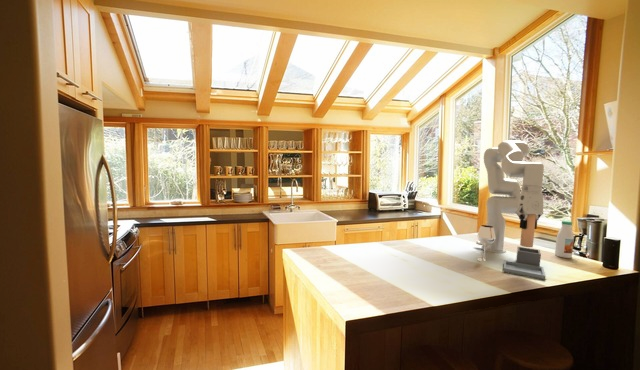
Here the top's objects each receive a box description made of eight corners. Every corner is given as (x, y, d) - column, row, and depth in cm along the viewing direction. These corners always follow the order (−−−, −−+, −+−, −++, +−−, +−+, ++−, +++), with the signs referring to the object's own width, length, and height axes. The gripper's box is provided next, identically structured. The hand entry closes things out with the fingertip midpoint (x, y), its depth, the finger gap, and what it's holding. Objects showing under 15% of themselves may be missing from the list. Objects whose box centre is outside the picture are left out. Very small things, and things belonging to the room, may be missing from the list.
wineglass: (492, 259, 169) (495, 225, 167) (493, 264, 161) (496, 228, 160) (475, 257, 172) (478, 223, 171) (475, 261, 165) (478, 226, 163)
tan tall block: (520, 246, 150) (523, 213, 148) (520, 243, 154) (523, 212, 153) (533, 248, 147) (536, 215, 146) (532, 245, 151) (535, 214, 150)
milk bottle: (557, 257, 180) (560, 221, 178) (552, 253, 187) (556, 219, 185) (573, 259, 177) (578, 223, 175) (569, 255, 184) (573, 220, 182)
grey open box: (516, 265, 161) (517, 250, 161) (516, 260, 170) (517, 246, 169) (539, 269, 156) (540, 254, 156) (538, 264, 165) (539, 249, 164)
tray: (503, 272, 150) (503, 267, 150) (504, 264, 162) (504, 260, 162) (545, 280, 142) (545, 275, 142) (542, 271, 154) (543, 267, 154)
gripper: (523, 189, 143) (519, 230, 144) (554, 190, 147) (550, 230, 148) (509, 188, 150) (506, 226, 151) (539, 189, 154) (535, 226, 156)
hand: (528, 228), depth 150 cm, fingers closed on tan tall block, 5 cm apart
